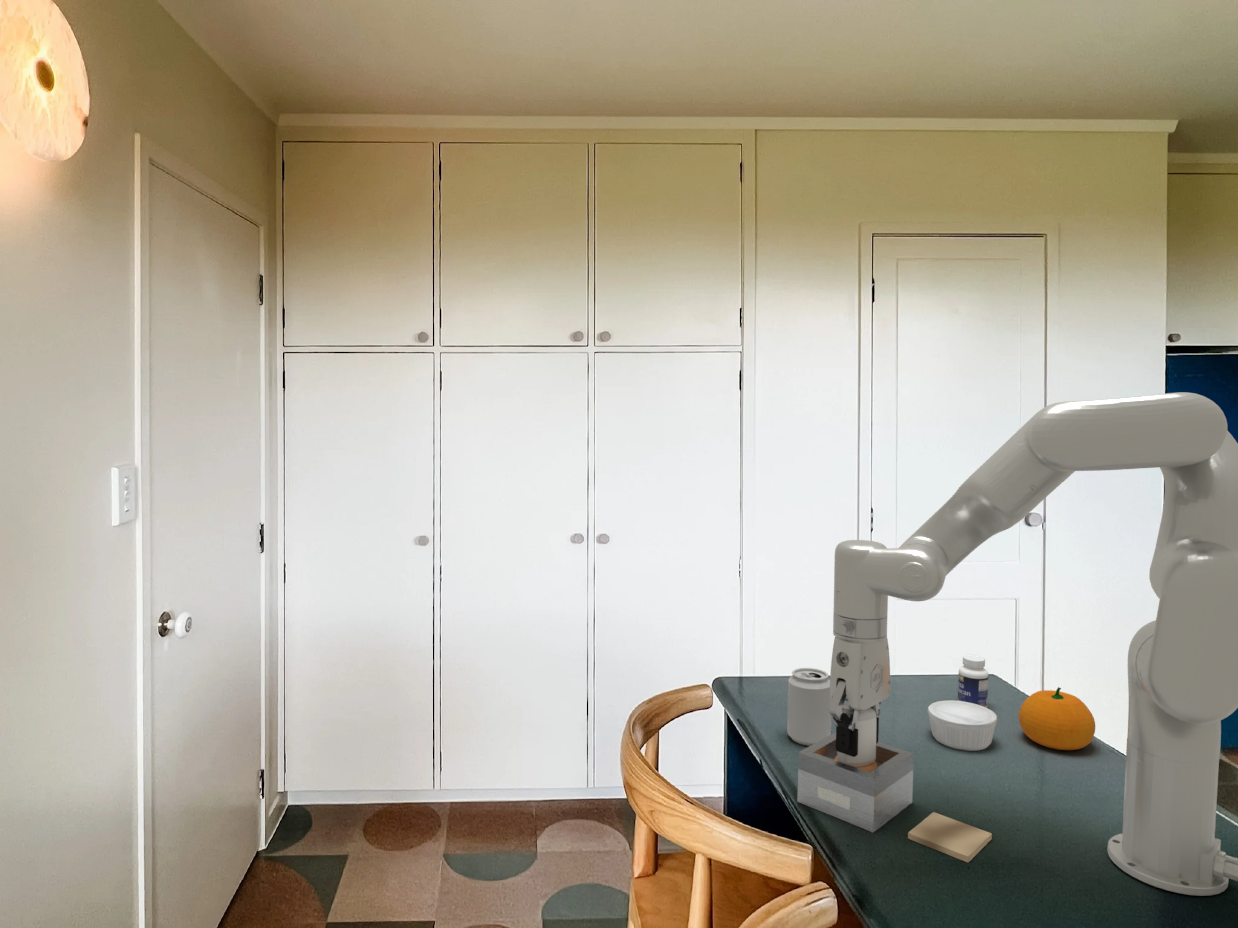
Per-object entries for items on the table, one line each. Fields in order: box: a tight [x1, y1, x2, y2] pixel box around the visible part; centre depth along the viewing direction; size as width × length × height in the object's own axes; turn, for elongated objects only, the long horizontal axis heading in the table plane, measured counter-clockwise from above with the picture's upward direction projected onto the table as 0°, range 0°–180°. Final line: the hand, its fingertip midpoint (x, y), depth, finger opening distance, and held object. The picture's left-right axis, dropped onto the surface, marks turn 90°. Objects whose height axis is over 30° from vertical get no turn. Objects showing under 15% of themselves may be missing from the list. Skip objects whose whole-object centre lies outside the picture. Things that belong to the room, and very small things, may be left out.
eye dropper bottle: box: [837, 703, 878, 767], centre depth 115 cm, size 4×6×12 cm
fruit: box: [1018, 686, 1096, 751], centre depth 138 cm, size 12×12×10 cm
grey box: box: [797, 731, 915, 833], centre depth 116 cm, size 12×12×8 cm
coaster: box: [907, 811, 993, 863], centre depth 106 cm, size 8×8×1 cm
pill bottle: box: [956, 654, 989, 708], centre depth 154 cm, size 5×5×10 cm
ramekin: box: [927, 699, 998, 752], centre depth 138 cm, size 11×11×5 cm
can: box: [786, 667, 832, 747], centre depth 138 cm, size 8×8×12 cm
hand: (857, 746), depth 115 cm, fingers closed on eye dropper bottle, 5 cm apart
